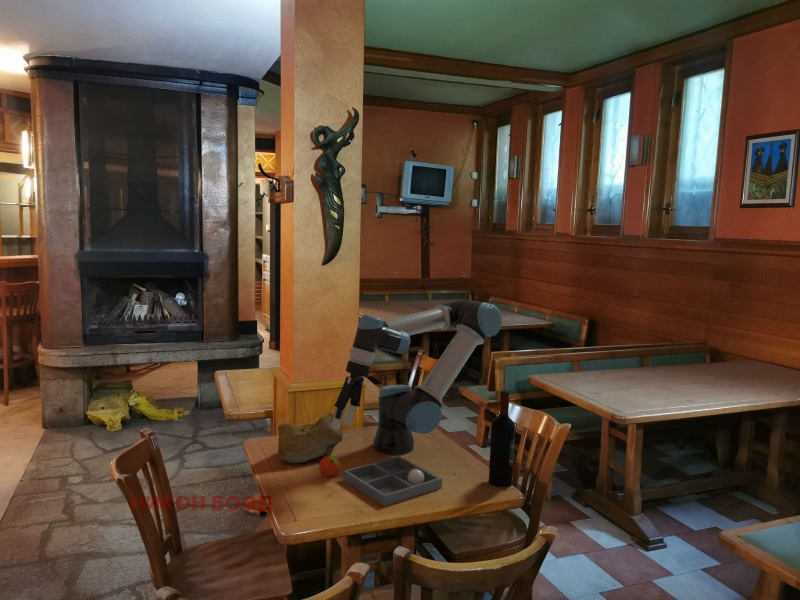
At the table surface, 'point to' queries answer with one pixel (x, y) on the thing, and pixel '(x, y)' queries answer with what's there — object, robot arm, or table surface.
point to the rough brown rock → (308, 440)
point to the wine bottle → (502, 446)
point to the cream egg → (415, 477)
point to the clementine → (329, 466)
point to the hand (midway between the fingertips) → (341, 426)
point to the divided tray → (390, 480)
